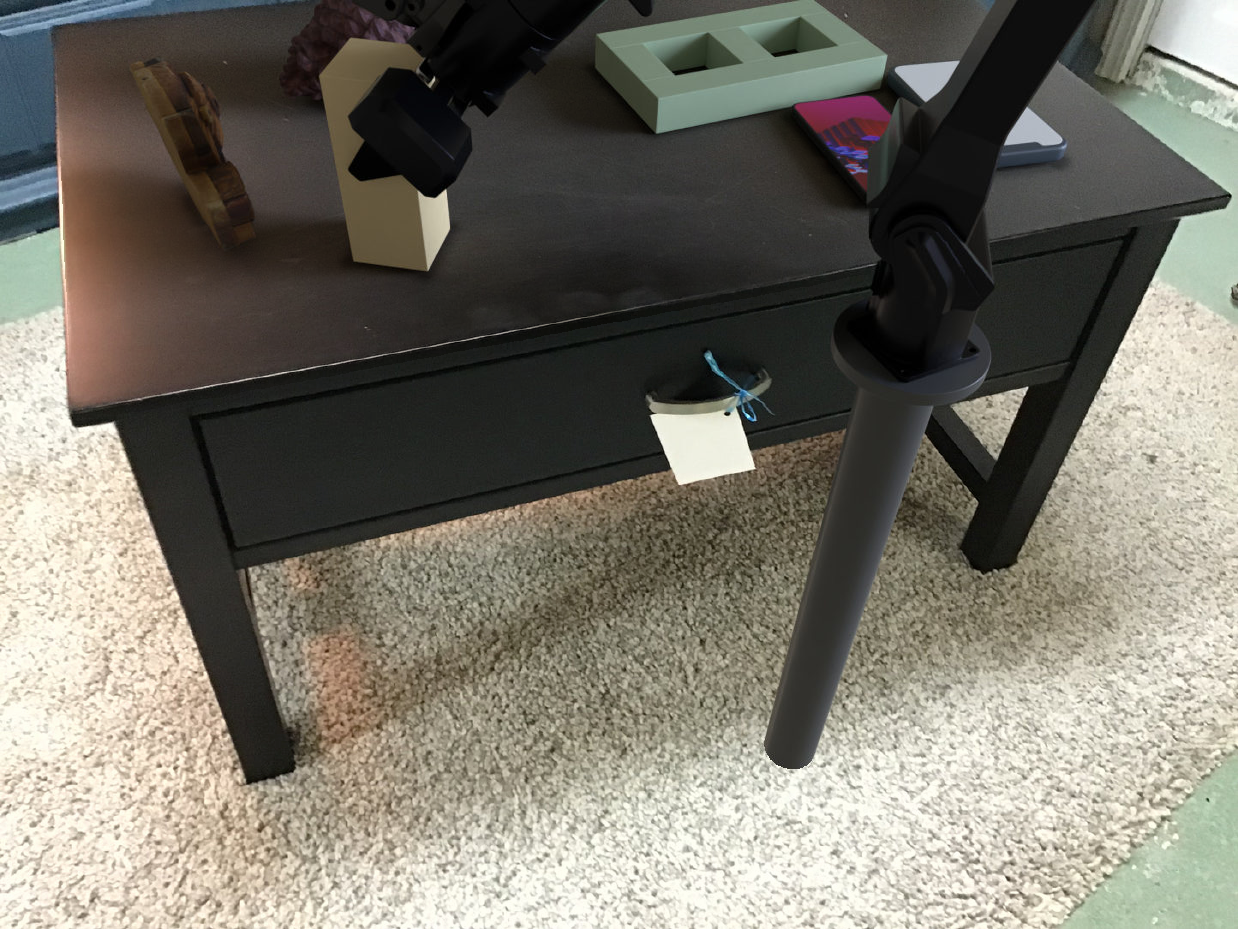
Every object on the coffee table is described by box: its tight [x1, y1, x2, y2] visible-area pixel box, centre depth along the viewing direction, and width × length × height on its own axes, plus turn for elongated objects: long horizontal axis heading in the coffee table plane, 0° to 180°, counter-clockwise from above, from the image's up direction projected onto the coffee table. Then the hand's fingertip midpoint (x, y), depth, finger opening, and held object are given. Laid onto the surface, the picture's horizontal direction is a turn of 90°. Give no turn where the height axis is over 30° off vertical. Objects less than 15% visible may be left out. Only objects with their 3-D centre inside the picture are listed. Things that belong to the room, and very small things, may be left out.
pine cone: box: [278, 0, 415, 101], centre depth 84 cm, size 18×10×10 cm
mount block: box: [594, 0, 888, 135], centre depth 89 cm, size 12×21×3 cm, turn 114°
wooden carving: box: [129, 56, 256, 251], centre depth 70 cm, size 16×5×10 cm, turn 36°
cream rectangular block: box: [319, 38, 451, 272], centre depth 67 cm, size 5×5×13 cm
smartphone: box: [790, 94, 892, 203], centre depth 81 cm, size 8×1×15 cm
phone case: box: [886, 59, 1068, 169], centre depth 85 cm, size 9×2×16 cm
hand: (369, 152), depth 67 cm, fingers closed on cream rectangular block, 5 cm apart
